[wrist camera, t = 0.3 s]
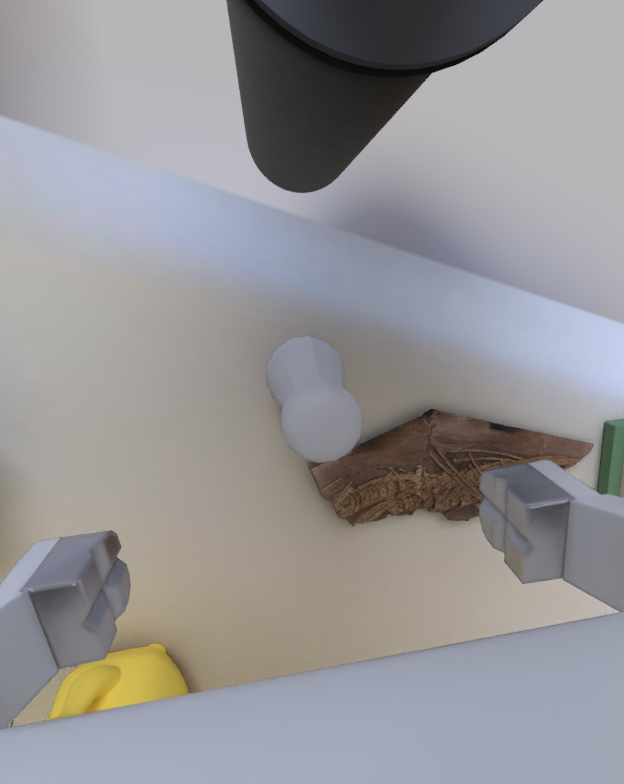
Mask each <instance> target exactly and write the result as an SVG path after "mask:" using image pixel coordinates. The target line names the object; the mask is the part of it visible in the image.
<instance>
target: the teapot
mask: <svg viewBox="0 0 624 784" xmlns="http://www.w3.org/2000/svg"><path fill="white" fill-rule="evenodd" d="M166 653H167V651H166V648H165V647H164V646H162V645H160V644H151V645H148V646H147V647H137V648H131V649H126V650H121V651H117V652H113V653H109V654H107V656H106V659H104V660H99V661H94V662H90V663H85V664H81V665H80V666H78V667H77V668H76V669H74V670H73V671H72V672H71V673H70V674H69V675H68V676H67V677H66V678H65V679H64V681H63V682H62V684H61V685H60V688H59V690H58V692H57V695H56V697H55V700H54V703H53V707H52V710H51V714H50V718H48V719H44V720H43V721H48V720H53V719H58V718H64V717H69V716H74V715H80V714H85V713H90V712H95V711H101V710H106V709H111V708H117V707H122V706H127V705H133V704H138V703H143V702H149V701H154V700H159V699H164V698H170V697H175V696H180V695H186V694H189V692H188V689H187V686H186V683H185V681H184V679H183V677H182V675H181V673H180V671H179V669H178V668H177V667H176V665H175V664H174V662H173V661H172V660H171V659H170V657H169V656H168V655H167V654H166Z"/></svg>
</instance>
